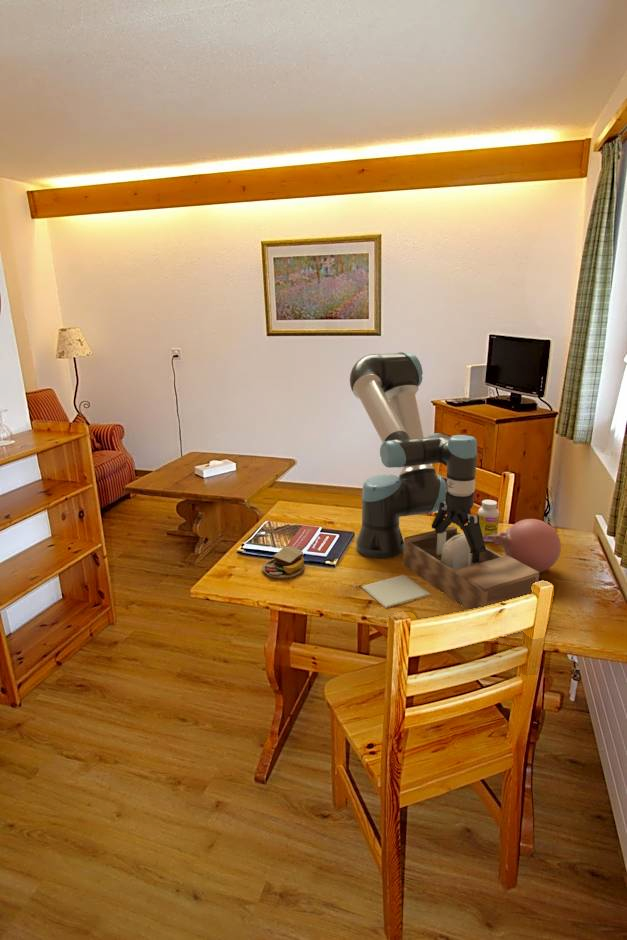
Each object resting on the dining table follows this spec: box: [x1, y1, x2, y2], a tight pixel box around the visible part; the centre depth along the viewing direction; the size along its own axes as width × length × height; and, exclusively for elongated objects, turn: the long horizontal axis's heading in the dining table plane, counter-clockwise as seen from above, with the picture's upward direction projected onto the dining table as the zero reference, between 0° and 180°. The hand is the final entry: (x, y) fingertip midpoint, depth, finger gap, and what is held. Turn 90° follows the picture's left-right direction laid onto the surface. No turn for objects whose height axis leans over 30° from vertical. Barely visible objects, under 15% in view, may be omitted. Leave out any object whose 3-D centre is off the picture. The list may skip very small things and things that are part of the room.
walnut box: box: [402, 525, 540, 610], centre depth 156 cm, size 34×18×9 cm, turn 26°
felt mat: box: [361, 574, 431, 609], centre depth 153 cm, size 12×14×1 cm
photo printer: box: [440, 533, 470, 570], centre depth 159 cm, size 10×4×12 cm, turn 133°
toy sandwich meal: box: [262, 545, 306, 579], centre depth 166 cm, size 12×14×5 cm
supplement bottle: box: [477, 499, 500, 543], centre depth 183 cm, size 7×7×13 cm
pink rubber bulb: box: [488, 518, 562, 573], centre depth 162 cm, size 15×20×15 cm
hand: (455, 562), depth 159 cm, fingers open, 13 cm apart
